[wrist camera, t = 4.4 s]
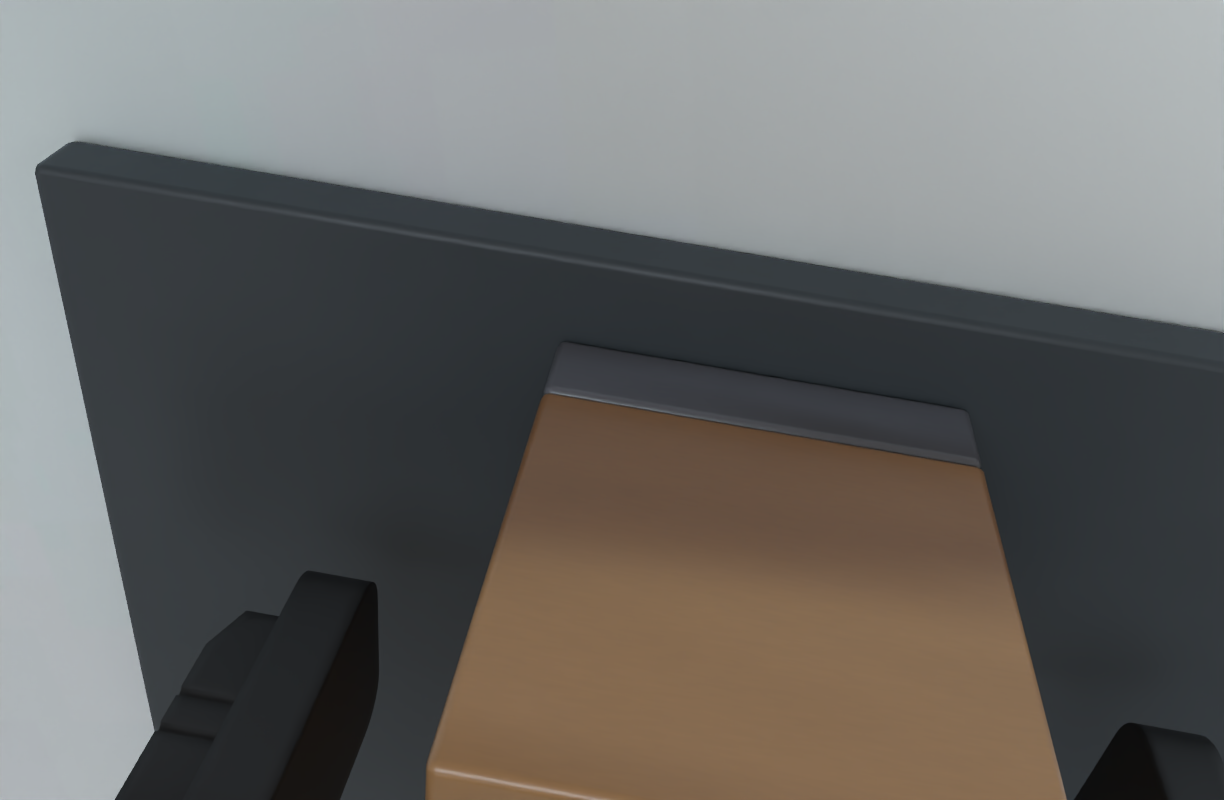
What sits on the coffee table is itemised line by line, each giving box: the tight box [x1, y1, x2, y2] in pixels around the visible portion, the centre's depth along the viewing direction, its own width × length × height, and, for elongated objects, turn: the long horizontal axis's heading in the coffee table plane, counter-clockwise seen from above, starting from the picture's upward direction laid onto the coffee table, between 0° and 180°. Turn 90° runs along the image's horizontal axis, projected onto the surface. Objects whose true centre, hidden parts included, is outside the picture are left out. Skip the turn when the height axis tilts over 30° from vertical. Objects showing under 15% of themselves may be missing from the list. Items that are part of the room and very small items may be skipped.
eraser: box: [425, 342, 1067, 800], centre depth 11 cm, size 6×4×6 cm
